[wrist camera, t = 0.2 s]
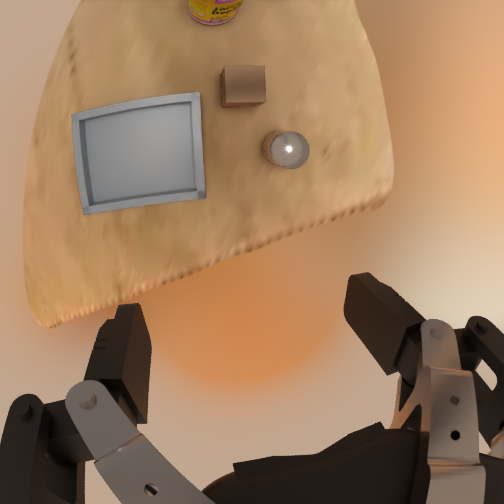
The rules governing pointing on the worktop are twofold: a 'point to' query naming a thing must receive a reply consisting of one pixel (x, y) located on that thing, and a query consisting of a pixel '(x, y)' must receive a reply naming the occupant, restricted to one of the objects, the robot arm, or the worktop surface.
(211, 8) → the supplement bottle
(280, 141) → the grey rounded cylinder
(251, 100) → the walnut block
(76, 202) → the worktop surface
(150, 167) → the parts tray
